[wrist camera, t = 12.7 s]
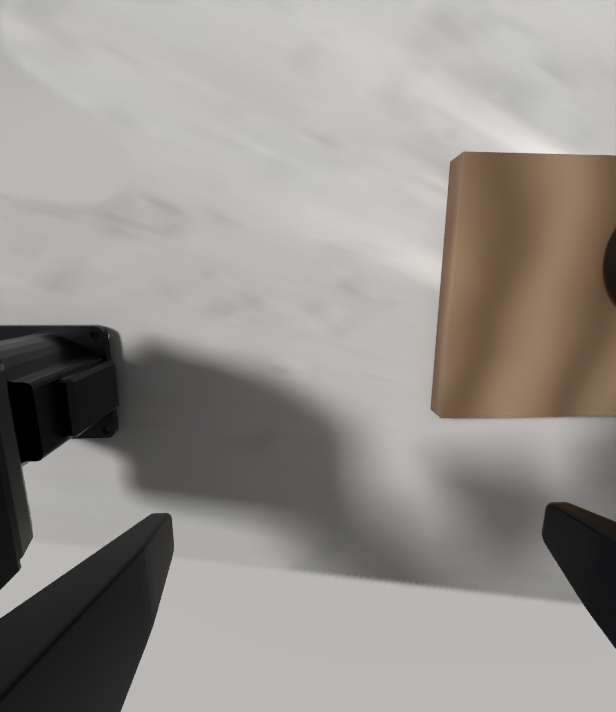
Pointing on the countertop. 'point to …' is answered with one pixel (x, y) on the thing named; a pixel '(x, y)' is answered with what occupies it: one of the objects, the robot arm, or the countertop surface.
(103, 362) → the robot arm
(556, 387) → the walnut board
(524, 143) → the countertop surface
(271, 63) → the countertop surface
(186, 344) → the countertop surface
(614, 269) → the supplement bottle
